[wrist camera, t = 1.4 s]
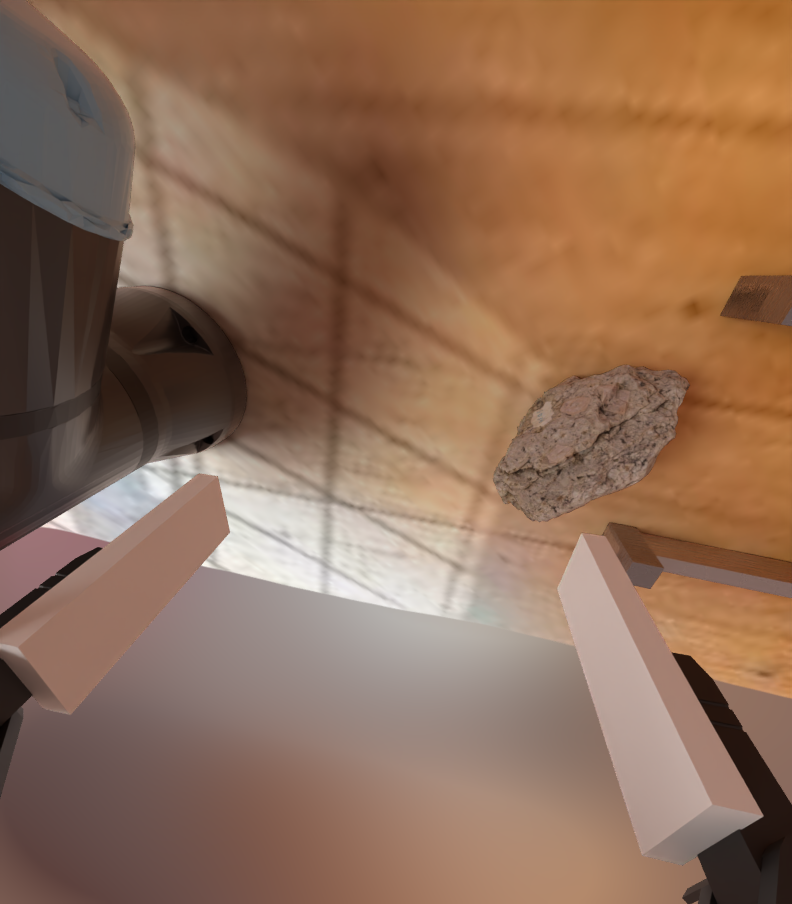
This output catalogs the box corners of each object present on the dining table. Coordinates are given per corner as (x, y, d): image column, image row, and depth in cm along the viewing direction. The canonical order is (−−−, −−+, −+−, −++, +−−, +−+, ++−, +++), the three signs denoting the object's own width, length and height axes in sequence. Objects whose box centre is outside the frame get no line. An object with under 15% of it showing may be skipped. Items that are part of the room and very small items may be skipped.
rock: (669, 295, 18) (784, 410, 17) (601, 343, 28) (671, 417, 27) (464, 461, 21) (552, 564, 20) (469, 450, 31) (528, 519, 30)
